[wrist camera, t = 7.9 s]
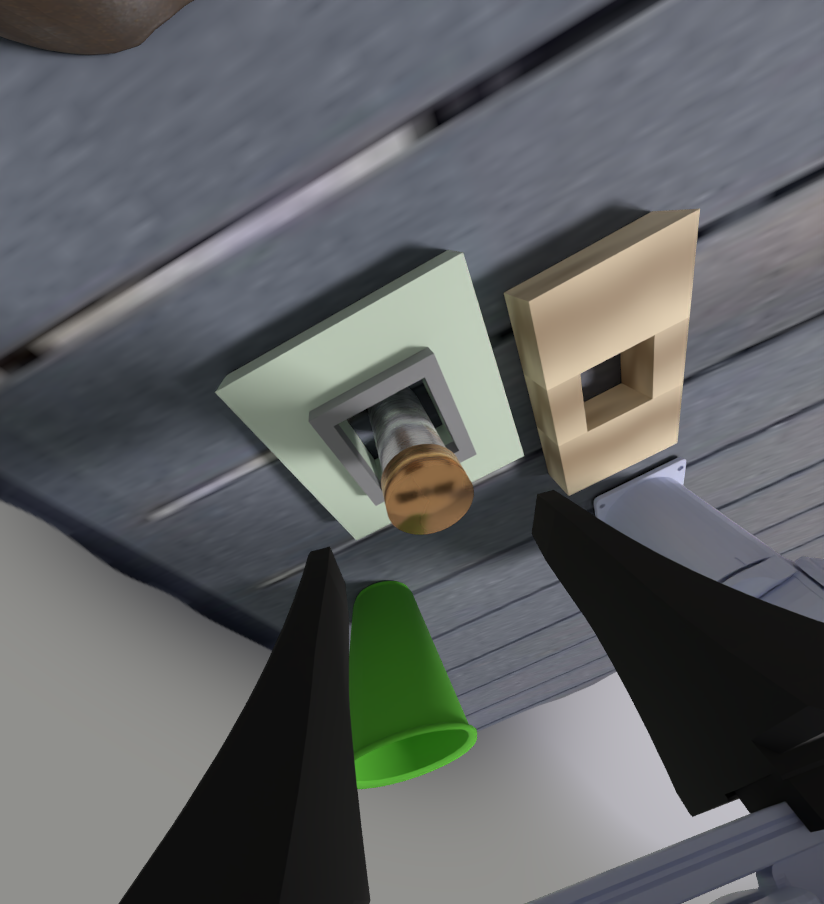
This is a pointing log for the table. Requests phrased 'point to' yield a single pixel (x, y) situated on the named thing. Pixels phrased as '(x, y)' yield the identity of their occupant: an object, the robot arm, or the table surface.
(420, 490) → the pin
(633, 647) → the robot arm
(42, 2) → the plant pot
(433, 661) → the cup
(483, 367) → the socket
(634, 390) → the mount
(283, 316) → the table surface
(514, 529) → the table surface
